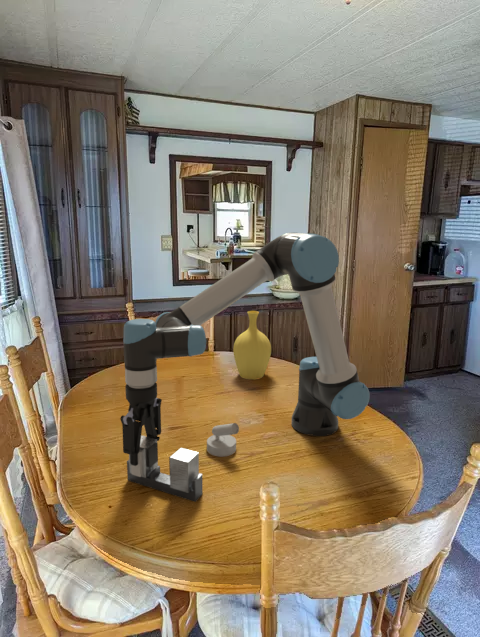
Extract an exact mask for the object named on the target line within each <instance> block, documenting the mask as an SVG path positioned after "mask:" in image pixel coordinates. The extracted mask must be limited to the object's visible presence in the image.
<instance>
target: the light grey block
mask: <svg viewBox="0 0 480 637" xmlns="http://www.w3.org/2000/svg"><path fill="white" fill-rule="evenodd" d="M158 448H159V446H158V441H157V439H154V438H150V437H147V435H142V434H141V441H140V449H139V451H140V452H142V477H145V478H147V477H148V476H149V475H150V474H151V473H150V472H152V471H153V470H154V469H155V468H156V467H157V466H159V464H158V463H159V462H158V461H159V449H158ZM128 460H129V467H130V473H132V472H131V464H130V454H128Z"/></svg>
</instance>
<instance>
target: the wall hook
mask: <svg viewBox="0 0 480 637" xmlns="http://www.w3.org/2000/svg"><path fill="white" fill-rule="evenodd" d="M239 431H240V427H239V425H238V424H237V423H236V422H234V423H233V422H232V423H227V424H225V423H224V424H220V425H219V424H218V425H215V426H213V427H212V430H211V432H212V435H211V436H209V437H208V438H207V439H206V452H208V454H210V455H212V456H215V457H228V456H232V455H233V454H234V453H235V452H236V451H237V439H236V437H235V436H233V435H237V434H239Z"/></svg>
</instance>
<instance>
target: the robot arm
mask: <svg viewBox="0 0 480 637" xmlns="http://www.w3.org/2000/svg"><path fill="white" fill-rule="evenodd" d="M339 263H340V258H339V252H338V249H337V246H336V245H335V244H334V243H333V242H332V240H330V239H329V238H328V237H326V236H323V235H320V234H318V233H313V232H312V233H302V232H287V233H284V234H282V235H279V236H277V237H276V238H274V239H273V240H271V241H270V242H268V243H267V244H265V245H263V246H262V247H260V248H259V249H258V250H256V251H254V252H253V253H252V258H250V259H249V260H248V261H246V262H245V263H243V264H241V265H240V266H238V267H237V268H236V269H234V270H232V271H231V272H230V273H228V274H226V275H225V276H224V277H222V278H220V279H219V280H218V281H216V282H215V283H213V284H212V285H210V286H209V287H207V288H205V289H204V290H203V291H201V292H200V293H198V294H197V295H195V296H193V297H192V298H190V299H189V300H188V301H186V302H185V303H183V304H182V305H180V306H178V307H177V308H175V309H174V310H172V311H169V312H168V311H167V312H163V313H161V314H159V315H158V316H157V318H156V319H155V321H154V320H153V319H150V318H136V319H130V320H128V321H126V322H125V323H124V325H123V340H122V341H123V342H122V343H123V356H124V357H123V358H124V378H125V380H124V381H125V383H126V384H125V399H126V400H127V402H128V403H129V405H128V410H127V411H128V412H127V414H126V415H123V414H122V415H120V418H119V419H120V422H121V426H122V428H121V430H122V452H123V454H126V455H129V454H130V464H131V472H132V475H135V476H139V477H141V476H142V452H140V451H139V449H140V441H141V435H142V433H143V426H144V430H145V436H146V437H150V438H154V439H157V442H159V441H160V438H161V437H160V435H161V434H162V414H161V413H162V412H161V410H162V408H161V406H162V399H161V398H158V367H157V359H169V358H170V359H171V358H172V359H173V358H182V357H183V358H184V357H191V358H192V357H193V356H194V357H195V356H199V355H203V354H204V353H205V350H206V347H207V346H206V345H207V338H206V337H207V336H206V331H205V329H204V327H203V326H202V325H203V324H205V323H207V322H208V321H209V320H210V319H212V318H213V317H215V316H216V315H218V314H220V313H221V312H222V311H224V310H226V309H227V308H229V307H230V306H231V305H232V304H234V303H236V302H237V301H238V300H240V299H241V298H243V297H244V296H247V295H248V294H249V293H251V292H252V291H253V290H255V289H257V287H260V286H261V285H262V284H264V283H265V282H267V281H268V282H273V281H275V280H276V279H278V278H279V277H283V276H285V275H286V276H287V275H288V276H289V281H290V285H291V287H292V291H293V292H295V293H297V294H299V295H300V300H301V303H302V307H303V312H304V315H305V318H306V322H307V326H308V330H309V334H310V337H311V341H312V345H313V349H314V353H315V356H309V357H304V358H302V359H301V360H300V362H299V368H298V371H299V372H298V394H297V395H298V396H297V402H296V405H295V407H294V410H293V412H292V414H291V426H292V427H293V429H294V430H296V431H297V432H299V433H302V434H304V435H307V436H313V437H314V436H315V437H325V436H330V435H333V434H335V433H336V432H337V431H338V429H339V418H340V419H342V420H351V419H354V418H357V417H358V416H360V415H361V414H362V413H363V412H364V411H365V410H366V407H367V406H368V404H369V402H370V396H371V395H370V394H371V393H370V391H369V388H368V387H367V385H366V384H365V383H364V382H361V381H360V379H359V378H360V377H359V373H358V369H357V366H356V365H355V364H354V363H352V362H350V359H349V355H348V352H347V346H346V343H345V339H344V335H343V333H344V332H343V330H342V325H341V322H340V318H339V313H338V309H337V305H336V299H335V296H334V293H333V292H334V291H333V288H332V286H333V285H334V283H335V282H336V280H337V279H336V272H337V268H338V267H339Z"/></svg>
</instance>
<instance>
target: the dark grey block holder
mask: <svg viewBox="0 0 480 637" xmlns="http://www.w3.org/2000/svg"><path fill="white" fill-rule="evenodd" d="M199 455H200V453H199V451H195V450H191V449H188V448H184V447H180V448H178V450H176V451H175V452H173V453H172V454H171V455H170V456H169V457H168V459H169V460H168V461H169V462H168V463H169V464H168V465H169V474H167V473H164V472H161V466H160V465H158V466H157V467H156V468H155V469H154V470H153V471H152V472H150V473H151V474H150V475H149V476H148V477H147V478H145V477H142V476H141V477H139V476H135V475H132V473H130V467H129V459H128V460H126V470H127V471H126V472H127V473H126V474H127V481H128V482H132V483H134V484H137V485H141V486H144V487H148V488H150V489H154V490H156V491H160V492H163V493H166V494H169V495H173V496H175V497H178V498H182V499H185V500H187V501H188V500H189V501H191V502H194V503H197V501H198V500H199V499H200V498H201V497H202V495H203V473H201V472H199V470H200V466H199V464H200V462H199V461H200V460H199V459H200V458H199Z"/></svg>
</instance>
